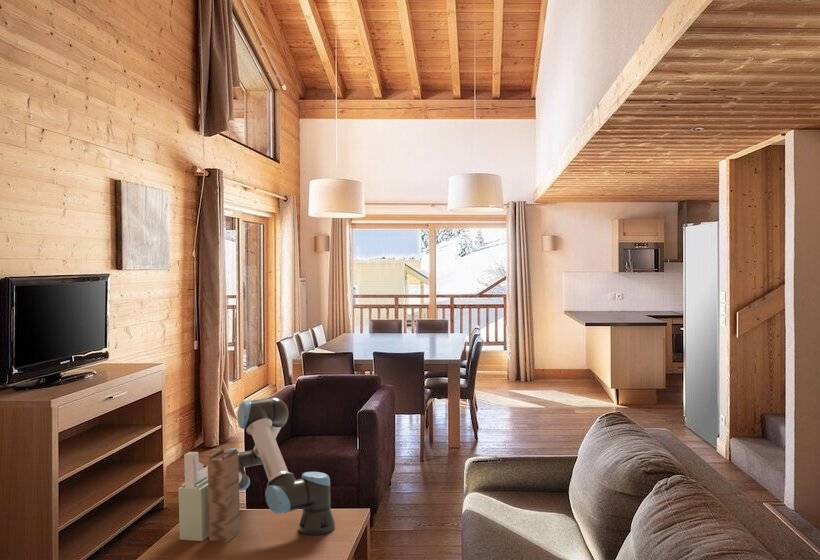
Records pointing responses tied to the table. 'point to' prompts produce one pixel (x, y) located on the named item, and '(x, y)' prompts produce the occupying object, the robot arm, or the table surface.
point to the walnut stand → (223, 496)
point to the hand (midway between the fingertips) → (210, 464)
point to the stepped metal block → (193, 470)
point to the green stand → (194, 512)
